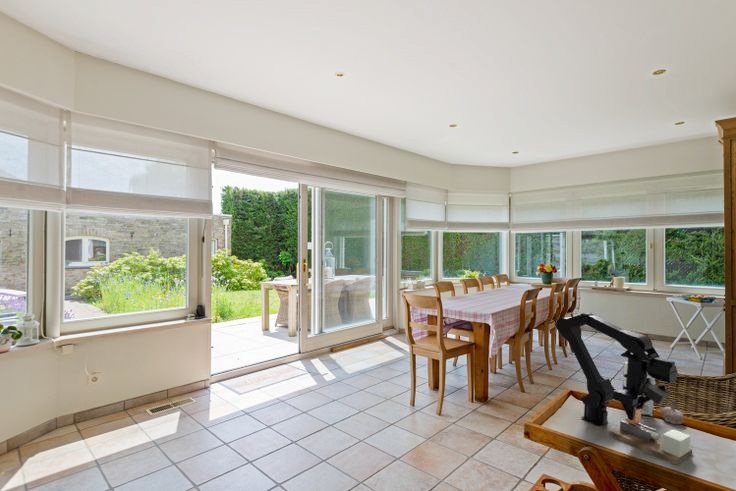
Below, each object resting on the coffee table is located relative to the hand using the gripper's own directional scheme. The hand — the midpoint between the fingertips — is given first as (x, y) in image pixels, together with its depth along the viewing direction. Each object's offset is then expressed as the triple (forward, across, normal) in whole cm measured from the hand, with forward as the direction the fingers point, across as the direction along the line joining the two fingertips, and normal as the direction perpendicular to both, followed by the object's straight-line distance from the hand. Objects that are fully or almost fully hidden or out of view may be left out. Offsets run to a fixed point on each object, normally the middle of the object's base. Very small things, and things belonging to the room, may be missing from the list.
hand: (633, 418), depth 131 cm
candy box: (+7, +27, +11) cm, 30 cm away
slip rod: (+4, 0, -2) cm, 5 cm away
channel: (+5, 0, -1) cm, 5 cm away
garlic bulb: (+7, +27, -1) cm, 28 cm away
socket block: (+5, 0, -12) cm, 13 cm away
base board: (+6, 0, -5) cm, 8 cm away
